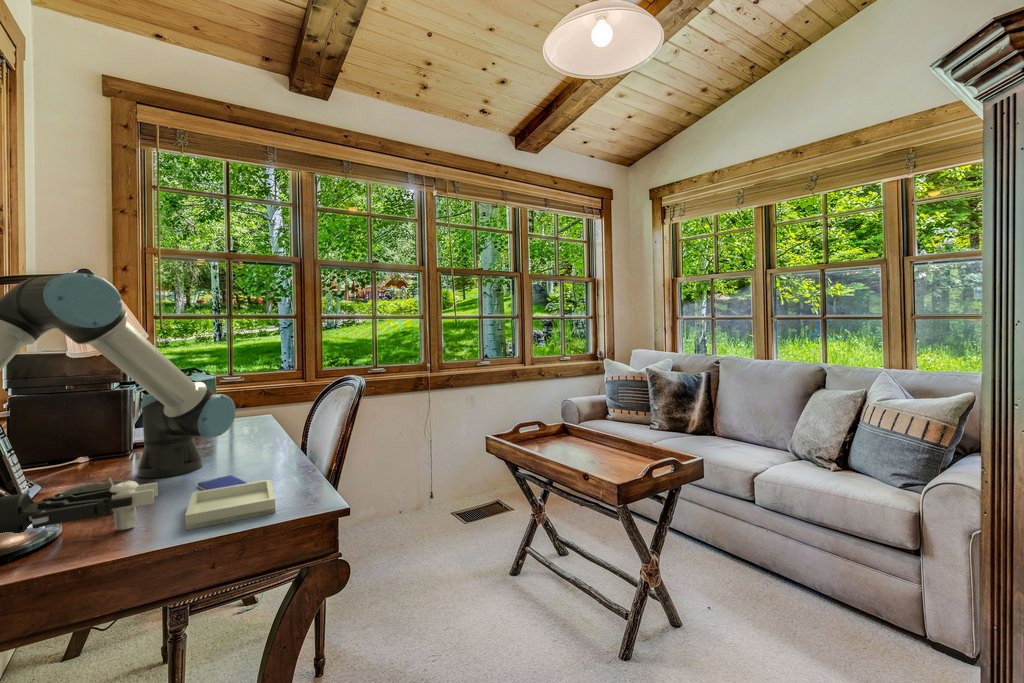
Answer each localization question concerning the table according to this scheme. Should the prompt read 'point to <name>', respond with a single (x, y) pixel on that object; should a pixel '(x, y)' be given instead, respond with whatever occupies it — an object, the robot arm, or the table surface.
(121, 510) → the milkshake
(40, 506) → the robot arm
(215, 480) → the hard drive
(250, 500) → the tray
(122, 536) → the table surface
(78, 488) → the dish
